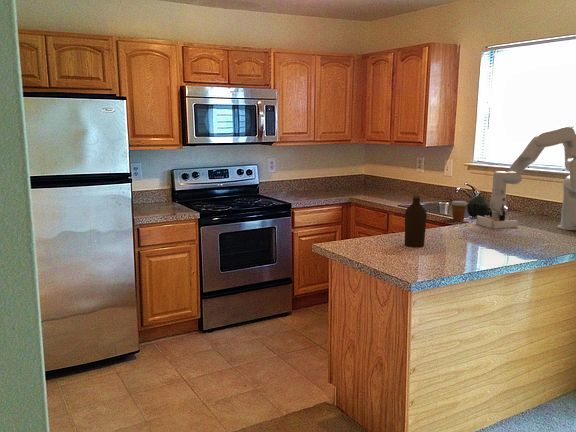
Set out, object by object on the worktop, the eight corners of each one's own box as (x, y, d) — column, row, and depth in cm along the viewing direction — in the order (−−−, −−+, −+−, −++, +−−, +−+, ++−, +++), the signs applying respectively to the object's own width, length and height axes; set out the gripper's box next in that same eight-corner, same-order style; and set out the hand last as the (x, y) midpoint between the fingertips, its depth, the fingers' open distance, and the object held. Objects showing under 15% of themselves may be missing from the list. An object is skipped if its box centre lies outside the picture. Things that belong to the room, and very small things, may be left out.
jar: (504, 226, 305) (505, 211, 303) (495, 226, 303) (496, 211, 302) (497, 224, 311) (498, 209, 309) (488, 224, 309) (489, 210, 308)
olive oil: (418, 248, 246) (421, 197, 242) (399, 245, 253) (401, 195, 249) (429, 245, 253) (431, 195, 249) (410, 241, 260) (412, 193, 256)
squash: (480, 211, 325) (489, 193, 329) (460, 209, 337) (469, 191, 341) (489, 224, 332) (498, 206, 337) (469, 222, 344) (478, 204, 349)
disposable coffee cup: (449, 220, 323) (450, 201, 321) (451, 218, 332) (452, 200, 330) (464, 221, 319) (465, 202, 317) (467, 219, 327) (468, 201, 325)
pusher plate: (498, 227, 300) (499, 218, 300) (496, 227, 300) (497, 218, 299) (485, 223, 312) (486, 215, 311) (483, 223, 312) (484, 215, 311)
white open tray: (517, 227, 302) (517, 218, 301) (492, 228, 298) (492, 220, 297) (500, 222, 316) (501, 214, 316) (476, 223, 312) (476, 215, 312)
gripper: (513, 193, 296) (511, 222, 299) (495, 190, 313) (493, 217, 316) (502, 194, 295) (500, 223, 297) (484, 190, 311) (482, 218, 314)
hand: (496, 220), depth 307 cm, fingers open, 9 cm apart
